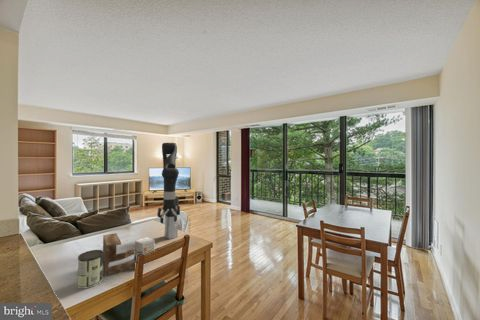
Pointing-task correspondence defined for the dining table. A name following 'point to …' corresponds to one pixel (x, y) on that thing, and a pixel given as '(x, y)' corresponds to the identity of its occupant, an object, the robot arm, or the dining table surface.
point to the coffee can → (90, 268)
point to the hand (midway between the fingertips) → (168, 222)
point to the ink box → (144, 246)
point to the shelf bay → (115, 255)
